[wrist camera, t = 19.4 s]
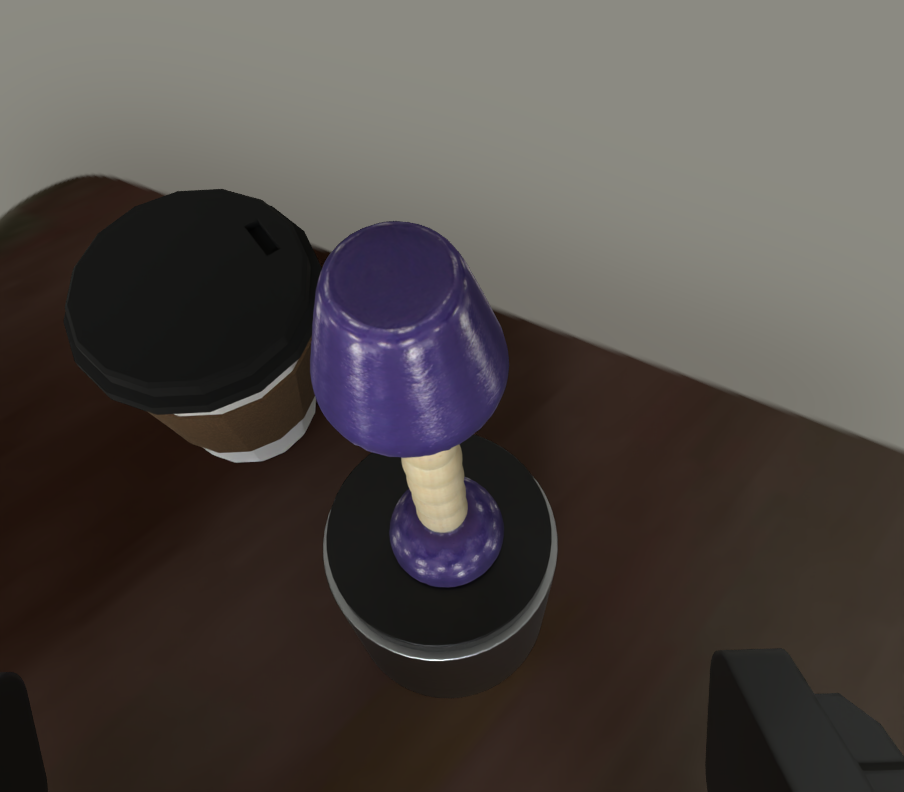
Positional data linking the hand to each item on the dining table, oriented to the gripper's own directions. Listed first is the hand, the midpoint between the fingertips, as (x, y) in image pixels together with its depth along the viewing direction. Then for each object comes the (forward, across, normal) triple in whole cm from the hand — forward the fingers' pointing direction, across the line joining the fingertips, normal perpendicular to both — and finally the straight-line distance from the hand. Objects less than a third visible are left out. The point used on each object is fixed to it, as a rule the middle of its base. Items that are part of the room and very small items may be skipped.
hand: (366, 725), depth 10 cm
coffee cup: (+35, +10, +7) cm, 37 cm away
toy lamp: (+20, 0, +8) cm, 22 cm away
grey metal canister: (+27, 0, +14) cm, 31 cm away
